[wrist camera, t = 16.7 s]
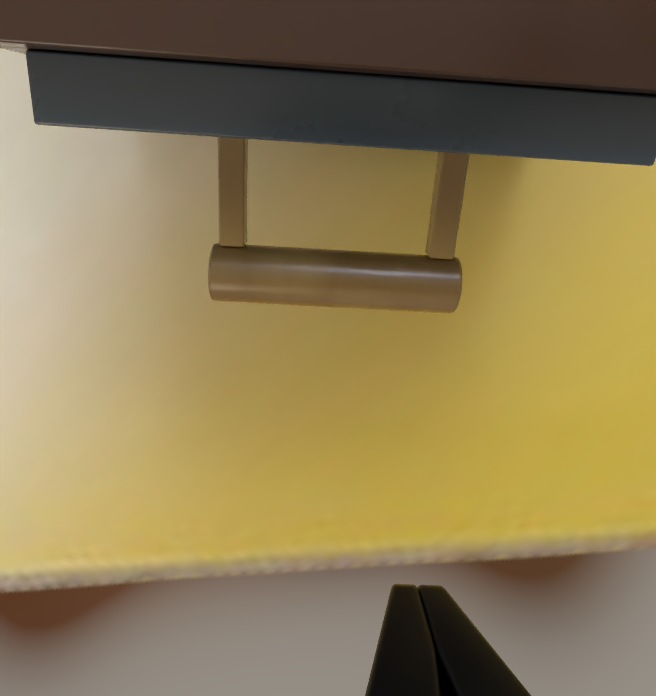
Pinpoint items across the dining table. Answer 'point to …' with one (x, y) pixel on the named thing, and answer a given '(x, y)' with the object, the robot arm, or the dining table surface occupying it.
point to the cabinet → (364, 36)
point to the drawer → (339, 129)
